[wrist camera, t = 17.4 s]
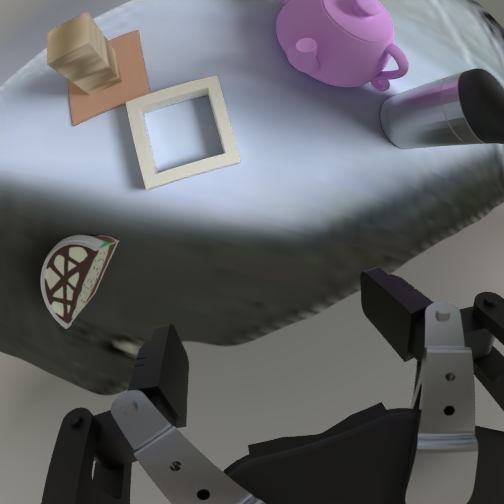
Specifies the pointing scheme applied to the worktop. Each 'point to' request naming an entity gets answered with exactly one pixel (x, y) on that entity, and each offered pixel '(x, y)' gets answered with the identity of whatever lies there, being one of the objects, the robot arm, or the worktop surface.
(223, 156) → the collar frame
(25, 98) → the worktop surface
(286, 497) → the robot arm
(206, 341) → the worktop surface
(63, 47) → the beech block
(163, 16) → the worktop surface
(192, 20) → the worktop surface
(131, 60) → the mat
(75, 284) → the cream brown half-disc piece
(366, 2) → the teapot
